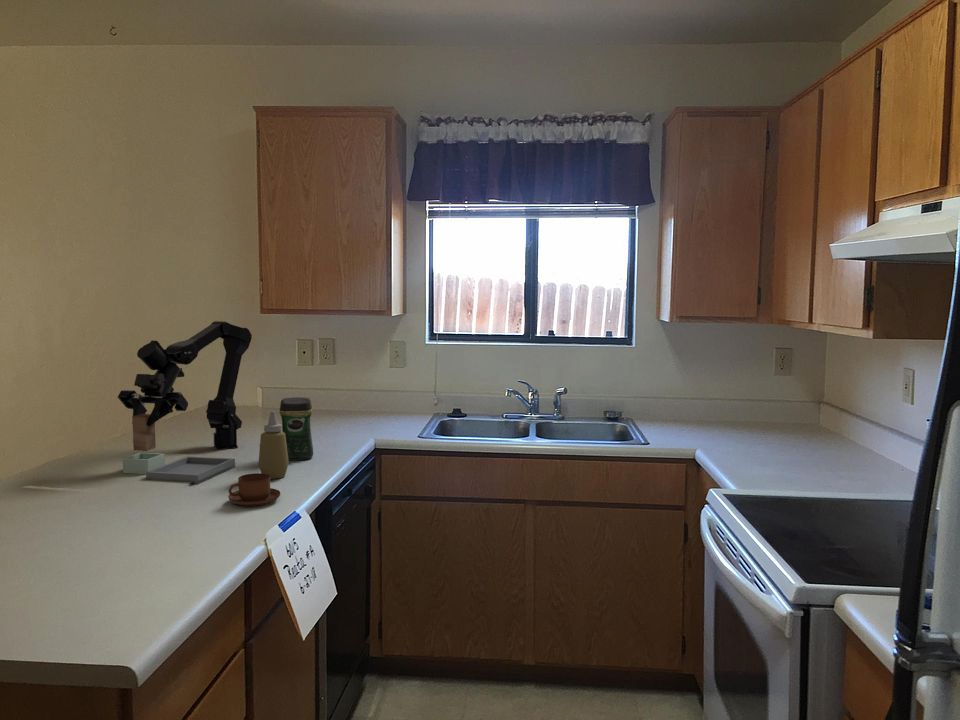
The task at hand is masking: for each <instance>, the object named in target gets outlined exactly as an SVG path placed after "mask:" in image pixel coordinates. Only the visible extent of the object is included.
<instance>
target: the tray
mask: <svg viewBox="0 0 960 720" xmlns="http://www.w3.org/2000/svg"><path fill="white" fill-rule="evenodd" d="M234 468H236V458H230V457H229V458H227V457H211V456H210V457H207V456H192V455H191V456H190V455H189V456H188V455H187V456H184V457H182V458H178V459H176V460H174V461H171V462H169V463H165V465H163V466H161V467H158V468H155V469H153V470H150V471H148V472H146V474H145V479H146V480H158V481H172V482H174V481H175V482H190V483H189V484H190V485H200V484H201V483H204V482H206V481H208V480H210V479H212V478H214V477H217V476H219V475H221V474H223V473H226V472H227V471H229V470H232V469H234Z"/></svg>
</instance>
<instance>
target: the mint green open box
mask: <svg viewBox="0 0 960 720" xmlns="http://www.w3.org/2000/svg"><path fill="white" fill-rule="evenodd" d="M163 465H166V456H165V453H156V452H138V453H136V454H132V455H128V456H127V457H124V458H122V470H123V471H122V473H123V474H124V473H125V474H135V475H137V474H139V475H140V474H141V475H142V474H143V475H146V472H148V471H150V470H153V469H155V468H158V467H161V466H163Z"/></svg>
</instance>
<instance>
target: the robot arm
mask: <svg viewBox="0 0 960 720" xmlns="http://www.w3.org/2000/svg"><path fill="white" fill-rule="evenodd" d="M252 337H253V336H252V332H251V331H250V330H249V329H248V328H247V327H242V326H238V325H235V324H231V323H230V322H227V321H222V320H215V321H212V322H211V324H209V325H208V326H206V327H205V328H203V329H202V330H200V331H199V332H197V333H196V334H194V335H192V336H191V337H190V338H188V339H185V340H180V341H177V342H175V343H171V344H170V345H168V346H167V347H166V348H164V347H163V346H162V345H161V344H160V342H159V341H158V340H151V341H150V342H149V343H146V344H145V345H143V346H141V347H140V348H139V349H138V351H137V353H136V354H137V355H136V356H137V357H138V359H140V361H142V363H143V364H145V366H146V367H147V368H148V369H150V371H156V372H155V373H154V374H149V373H137V374H136V376H135V379H134V380H135V381H134V383H133V385H134V386H135V387H138V388H140V392H141V393H143V394H144V395H143V394H142V395H141V393H137V392H136V390H135V389H134V390H132V389H130V390H129V389H128V390H126V389H123V390H120V392H119V394H118V395H117V398H118V400H119V401H120V402H121V404H123V405H124V407H125V408H126V409H129V410H132V416H135V415H139V414H147V412H148V409H147V408H146V407H145V404H148V405H149V404H150V405H151V404H152V405H154V407H153V408H152V410H151V413H150V414H151V415H150V417H149V419H148V421H147V426H151V425H152V424H154V423H155V424H156V422H157V421H160V420H161V419H162V418H164V417H165V416H167V415H169V414H170V413H173V412H174V410H173V408H174V409H175V411H176V412H185V411H187V409H188V407H189V402H188V400H187V399H186V398H185V396H184V395H183V394H182V392H181V391H175V389H174V387H173V386H174V384H175V382H176V380H177V378H183V377H185V373H184V371H183V368H182V367H180V366H178V365H185V366H187V365H191V363H192V362H193V361H195V360H196V358H197V357H198V355H199V352H201V351H202V350H203V349H205V348H206V347H207V346H209V345H210V344H213V342H215V341H216V340H218V339H219V338H220V339H222V345H223V348H224V351H225V356H224V360H223V361H224V362H223V366H222V370H221V376H220V378H219V379H220V380H219V384H218V389H217V394H216V396H215V397H214V398H213V399H209V400H208V401H207V408H206V411H205V413H206V419H207V421H208V423H209V427H210V429H214V430H215V432H213V434H212V435H213V437H212V438H213V447H214V448H215V449H216V450H223V449H224V450H225V449H237V448H238V447H239V446H238V442H237V441H238V440H237V439H238V438H237V437H238V436H237V435H238V434H237V433H238V432H237V431H238V430H239V429H241V428H242V424H243V421H242V420H241V419H240V418H239V416H238V415H237V413H236V411H237V406H236V404H235V400H234V394H235V391H236V386H237V385H236V384H237V381H238V376H239V372H240V366H241V361H242V357H243V355H244V353H246V351H247V350H249V347H250V344H251V342H252V341H251V340H252ZM131 424H132V425H133V423H132V422H131Z"/></svg>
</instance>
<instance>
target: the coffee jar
mask: <svg viewBox="0 0 960 720" xmlns="http://www.w3.org/2000/svg"><path fill="white" fill-rule="evenodd" d="M312 414H313V407H312V401H311V398H310V397H304V396H301V397H300V396H298V397H297V396H294V397H285V398H282V399H281V400H280V405H279V415H280V418H281V425H282V432H284V433H285V436H286V444H287V452H288V461H301V460H303V461H304V460H308V459H312V458H313V456H314V445H313V440H312V429H311V416H312Z"/></svg>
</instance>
